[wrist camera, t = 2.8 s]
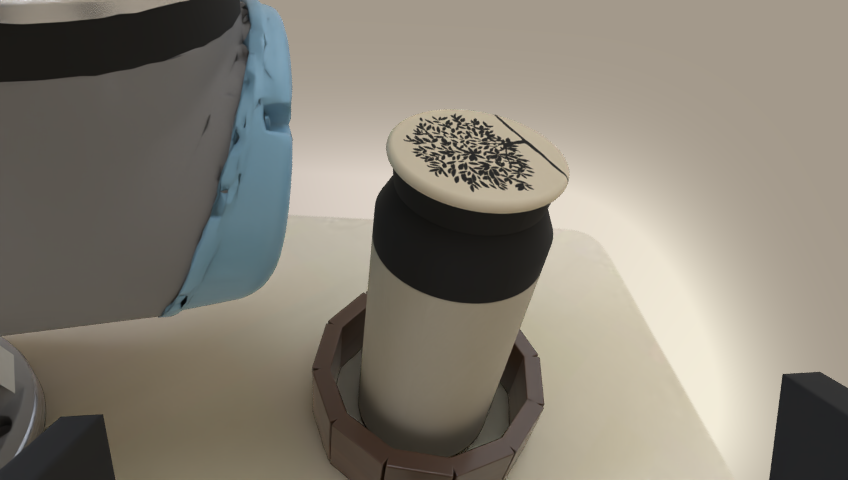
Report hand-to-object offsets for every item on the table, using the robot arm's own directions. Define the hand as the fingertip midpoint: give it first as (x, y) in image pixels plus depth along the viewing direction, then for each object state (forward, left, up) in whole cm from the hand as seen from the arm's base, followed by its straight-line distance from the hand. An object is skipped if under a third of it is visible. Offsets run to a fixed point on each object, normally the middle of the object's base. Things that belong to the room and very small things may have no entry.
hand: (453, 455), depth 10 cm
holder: (-6, +12, -19) cm, 23 cm away
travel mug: (-6, +12, -19) cm, 23 cm away
